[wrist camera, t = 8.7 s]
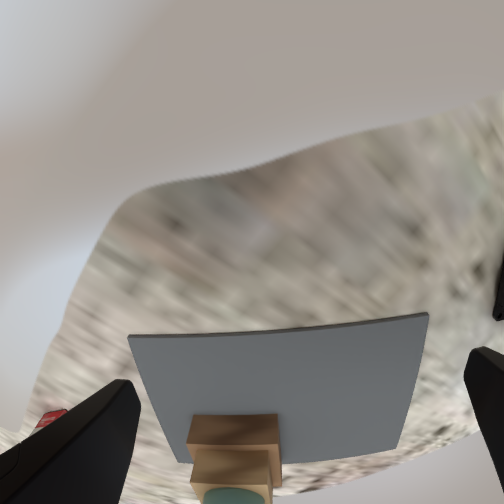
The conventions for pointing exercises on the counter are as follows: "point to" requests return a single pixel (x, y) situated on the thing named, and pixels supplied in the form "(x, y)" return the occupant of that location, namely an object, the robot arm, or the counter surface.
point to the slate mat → (290, 383)
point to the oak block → (232, 472)
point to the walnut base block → (238, 436)
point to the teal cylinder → (232, 496)
